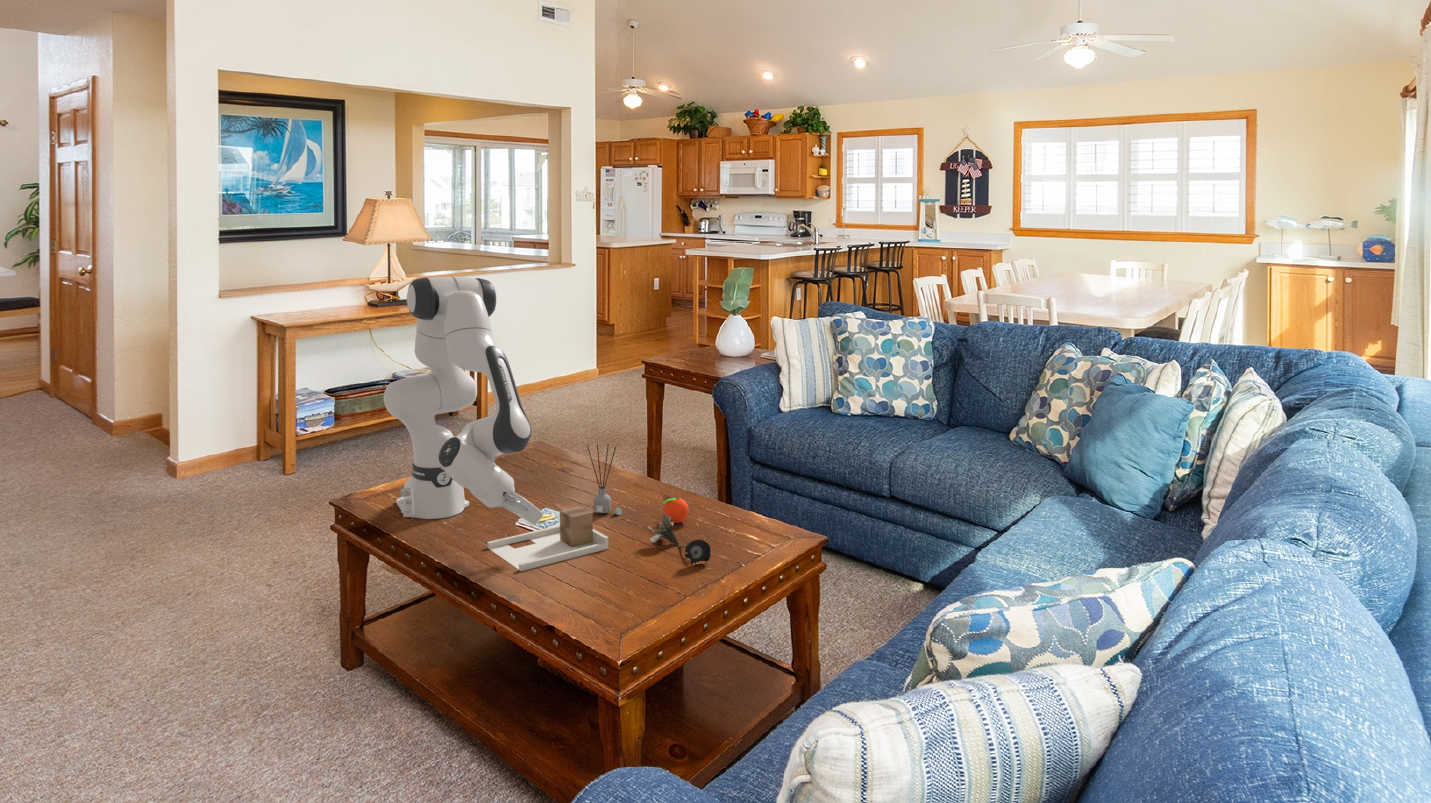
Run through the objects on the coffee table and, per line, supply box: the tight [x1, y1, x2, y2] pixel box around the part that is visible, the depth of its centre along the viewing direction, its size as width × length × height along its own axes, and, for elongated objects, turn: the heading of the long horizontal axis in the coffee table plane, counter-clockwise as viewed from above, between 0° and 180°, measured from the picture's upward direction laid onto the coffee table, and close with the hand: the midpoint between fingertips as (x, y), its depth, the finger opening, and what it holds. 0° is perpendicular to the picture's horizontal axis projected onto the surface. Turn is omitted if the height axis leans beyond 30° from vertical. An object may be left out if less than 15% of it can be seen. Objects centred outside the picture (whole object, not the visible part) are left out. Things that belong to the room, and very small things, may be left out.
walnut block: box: [559, 505, 594, 547], centre depth 232 cm, size 6×6×8 cm
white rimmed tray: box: [486, 524, 609, 572], centre depth 228 cm, size 18×24×4 cm
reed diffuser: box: [586, 443, 623, 516], centre depth 257 cm, size 10×7×20 cm
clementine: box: [659, 497, 690, 524], centre depth 252 cm, size 8×7×7 cm
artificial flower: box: [647, 513, 712, 566], centre depth 232 cm, size 9×22×10 cm, turn 24°
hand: (533, 519), depth 224 cm, fingers closed
